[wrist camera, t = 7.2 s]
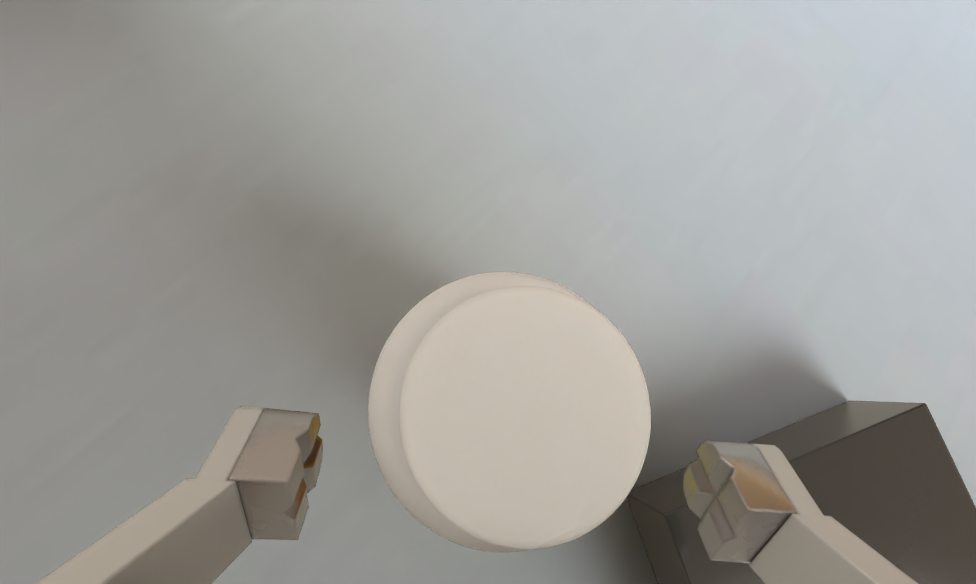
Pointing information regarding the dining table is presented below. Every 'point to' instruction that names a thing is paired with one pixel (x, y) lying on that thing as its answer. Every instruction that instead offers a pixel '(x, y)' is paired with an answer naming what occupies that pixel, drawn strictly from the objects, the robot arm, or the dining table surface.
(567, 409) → the supplement bottle
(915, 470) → the hob
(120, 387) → the dining table surface
